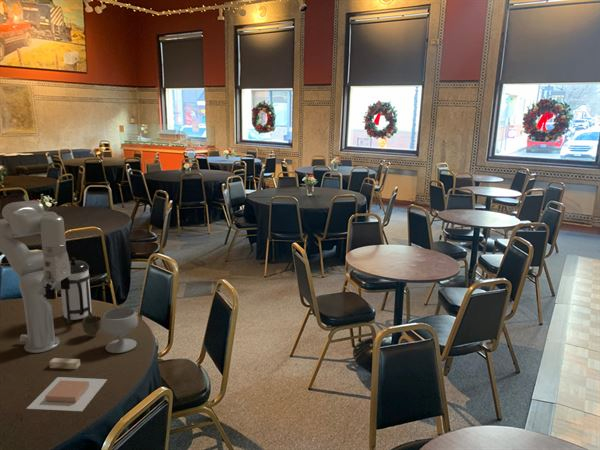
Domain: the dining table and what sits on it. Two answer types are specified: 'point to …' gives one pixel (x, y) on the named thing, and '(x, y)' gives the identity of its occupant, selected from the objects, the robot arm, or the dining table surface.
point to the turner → (64, 363)
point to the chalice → (120, 328)
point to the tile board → (68, 406)
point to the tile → (67, 391)
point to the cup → (91, 325)
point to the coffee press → (77, 292)
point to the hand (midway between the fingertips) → (58, 293)
